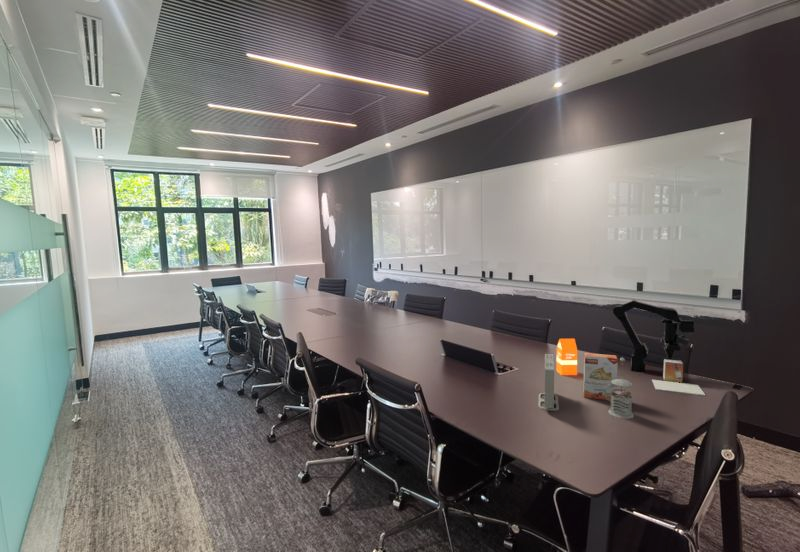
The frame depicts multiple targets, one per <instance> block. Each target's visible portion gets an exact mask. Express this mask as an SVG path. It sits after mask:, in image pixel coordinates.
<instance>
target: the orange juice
mask: <svg viewBox="0 0 800 552" xmlns="http://www.w3.org/2000/svg"><path fill="white" fill-rule="evenodd" d="M555 370H556V372H557V373H558V374H560V375H561V376H577V375H578V347H577V343H576V339H575V338H559V340H558V342H557V345H556V369H555Z"/></svg>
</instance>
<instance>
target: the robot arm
mask: <svg viewBox="0 0 800 552" xmlns="http://www.w3.org/2000/svg"><path fill="white" fill-rule="evenodd" d="M632 309H637V310H642V311H645V312H649V313H652V314H656V315H659V316H661V317H663V318H662V319H661V320H660V323H661V324H664V331H663V335H664V336H662V337H661V338H660V343H664V344H662V347H663V350H664V351H665V354H666V356H667V358H668V360H672V358H673V354H674V352H676V351H677V352H678V351H682V348H681V347H682V346H680V345H679V344H681V345H684V346H685V347H688V346H689V343H690V342H691V341H690V339H688V338H686V336H685V335H683V334H681V335H679V334H678V331H680V332H681V333H686V334H695V321H694V320H684V319H682V318H681V317H680V316H679V312H678V311H677V309H675V308H673V307H667V306H665V307H664V306H657V305H652V304H649V303H647V302H646V303H645V302H642V301H637V300H636V299H633V300H630V301H629V302H627V303H623V304H619V305H618V304H617V305H616V306H615V307H614V308H613V310H612V313H613V314H614V316H615V317H616V318H617V320H618V321H620V323H621V324H622V326H623V328H624V330H625V332H626V333H627V336H628V338H629V340H630V341H631V343H632V346H633V350H634V352H633V353H632V354H631V358H630V367H629V368H630V370H631V372H640V373H641V372H642V373H645V371H646V362H645V359H647V358H648V353H649V348H648V347H647V345H646V343H645V342H644V343H642V341H640V340H641V339H639V336H638V335H637V333H636V331H635V329H634V327H633V326H632V324H631V322H630V320H629V317H628V313H627V312H628V311H630V310H632Z"/></svg>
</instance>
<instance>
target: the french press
mask: <svg viewBox="0 0 800 552" xmlns="http://www.w3.org/2000/svg"><path fill="white" fill-rule="evenodd" d="M619 361H621V364H623V362H626V359H625V358H624V357H620V358H619ZM611 382H612V384H614V385H616V386H617V387H620V388H617V389H614V390H612V392H613V393H612V394H611V400H610V399H609V398H608V397H607V396H606V394H605V389H606V388H607V387H608V385H609V386H611V388H612V384H611V385H610V384H608V385H607V386H606V387H605V389H604V396H605V398H606V397H607V398H608V399H609V400H608V399H607V398H606V399H607V400H606V401H609V402H610V409H609V410H608V414H609V415H610V416H613V417H616V418H619V419H625V420H626V419H627V420H628V419H633V418H634V416H635V415H634V414H633V413H632V402H633V401H632V396H631V394H632V393H631V392H630V391H629V390H626V389H622V388H631V387H633V383H631V382H630V381H629V380H626V379H624V378H617V379H615V380H612V381H611ZM615 395H616V397H614V396H615Z"/></svg>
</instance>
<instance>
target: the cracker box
mask: <svg viewBox="0 0 800 552" xmlns="http://www.w3.org/2000/svg"><path fill="white" fill-rule="evenodd" d="M583 355H584V357H583V360H584V361H583V383H582V384H583V386H582V388H583V389H582V390H583V392H582V393H583V398H589V399H596V400H605V401H609V399H610V401H611V394H612V393H613V392H612V390H614V389H618V388H617V387H618V386H616V385H614V384H612V382H611V381H612V380H615V379H618V365H619V364H618V361H619V359H618V356H617V355H614V354H603V353H602V354H601V353H591V352H584V354H583ZM608 384H610V385H611V384H612V388H611V386H609V385H608ZM607 385H608V387H607V388H606V389H605V387H606V386H607ZM604 389H605V394H606V396H607V397H608V398H609V399H608V398H607V397H606V398H607V399H608V400H607V399H606V398H605V396H604ZM616 396H617V395H615V396H614V397H616Z"/></svg>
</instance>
